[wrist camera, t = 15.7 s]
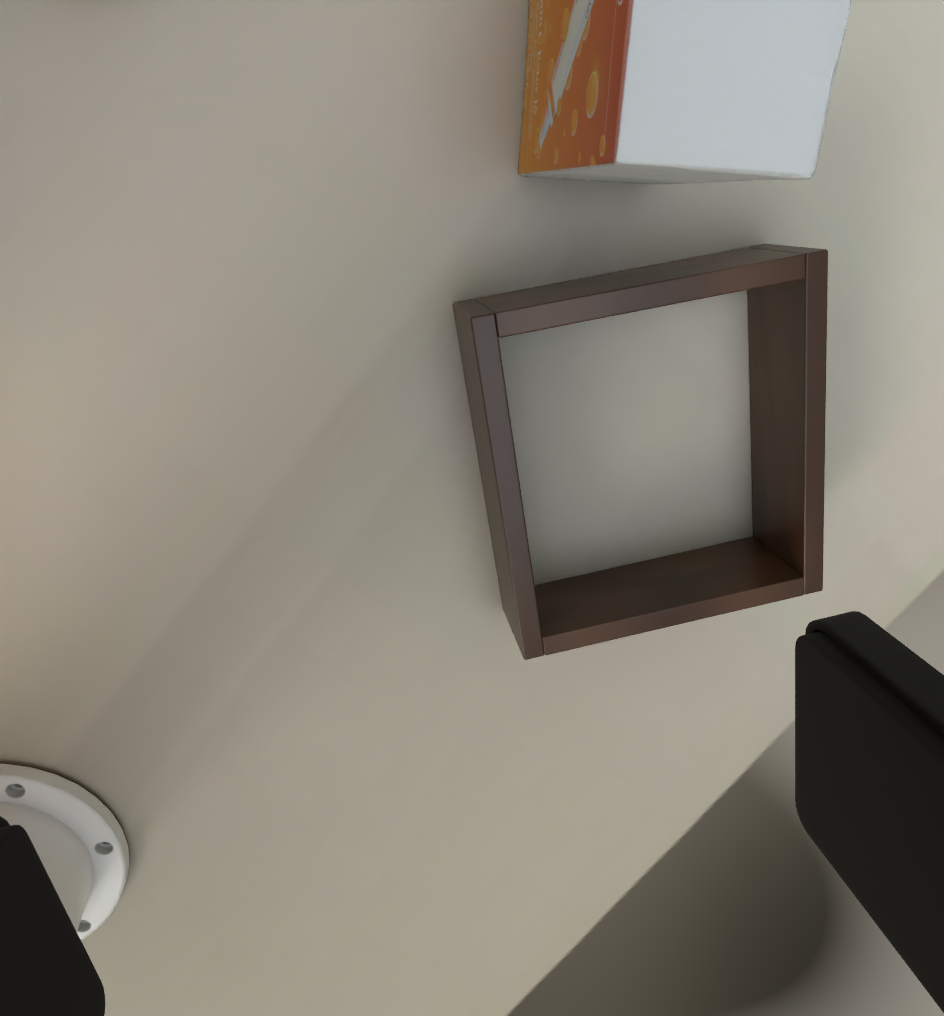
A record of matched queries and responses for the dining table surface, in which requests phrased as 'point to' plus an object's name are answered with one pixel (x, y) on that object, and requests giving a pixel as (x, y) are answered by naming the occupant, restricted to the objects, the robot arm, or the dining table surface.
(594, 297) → the wooden frame
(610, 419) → the dining table surface
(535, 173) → the small box
